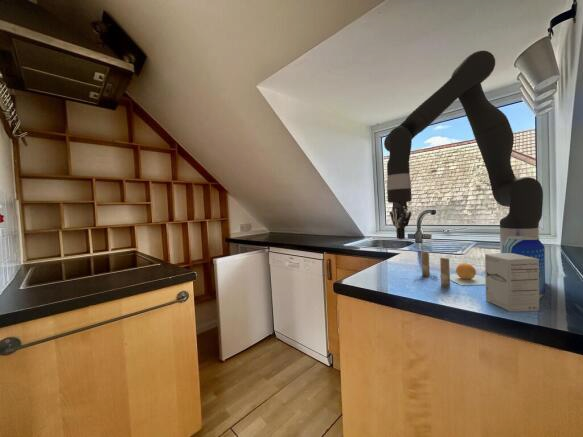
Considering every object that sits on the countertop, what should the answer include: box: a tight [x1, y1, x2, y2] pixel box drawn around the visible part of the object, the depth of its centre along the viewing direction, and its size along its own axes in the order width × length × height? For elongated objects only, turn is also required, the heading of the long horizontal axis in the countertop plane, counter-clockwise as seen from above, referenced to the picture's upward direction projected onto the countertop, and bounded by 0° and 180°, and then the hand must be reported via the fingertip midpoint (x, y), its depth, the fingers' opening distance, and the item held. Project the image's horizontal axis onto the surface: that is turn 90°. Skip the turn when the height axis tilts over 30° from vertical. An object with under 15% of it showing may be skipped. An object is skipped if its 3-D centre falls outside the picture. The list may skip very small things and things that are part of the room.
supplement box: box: [484, 253, 540, 313], centre depth 60 cm, size 7×7×13 cm
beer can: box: [502, 236, 546, 299], centre depth 67 cm, size 8×8×16 cm
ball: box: [455, 262, 477, 280], centre depth 82 cm, size 6×6×6 cm
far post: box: [420, 250, 431, 278], centre depth 89 cm, size 2×2×9 cm
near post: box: [439, 257, 451, 289], centre depth 76 cm, size 2×2×9 cm
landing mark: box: [439, 273, 486, 287], centre depth 82 cm, size 12×12×1 cm
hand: (400, 238), depth 83 cm, fingers closed
